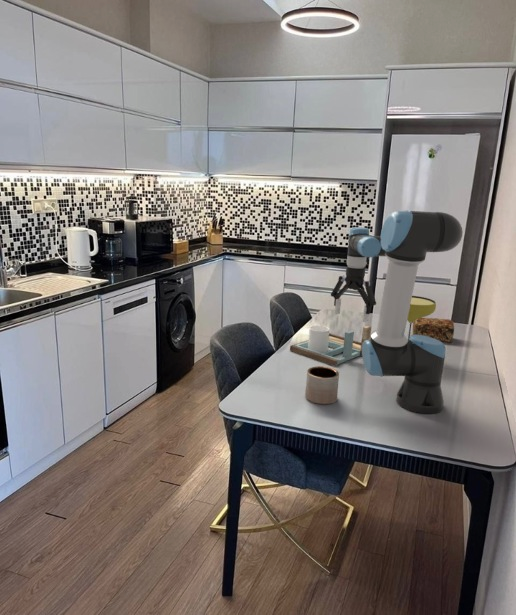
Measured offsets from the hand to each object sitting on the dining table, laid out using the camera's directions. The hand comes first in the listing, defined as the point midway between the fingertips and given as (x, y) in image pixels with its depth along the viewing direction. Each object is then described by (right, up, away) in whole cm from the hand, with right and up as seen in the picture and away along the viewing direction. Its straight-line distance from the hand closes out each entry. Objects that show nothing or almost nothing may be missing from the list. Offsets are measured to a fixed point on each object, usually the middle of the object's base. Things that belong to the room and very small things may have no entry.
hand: (350, 317), depth 195 cm
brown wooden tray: (-6, -15, +15) cm, 22 cm away
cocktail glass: (+27, -17, +13) cm, 34 cm away
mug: (-11, -15, +14) cm, 23 cm away
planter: (-17, -27, -33) cm, 46 cm away
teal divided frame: (-8, -16, +11) cm, 21 cm away
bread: (+47, -11, +39) cm, 63 cm away
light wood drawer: (+1, -14, +21) cm, 25 cm away
